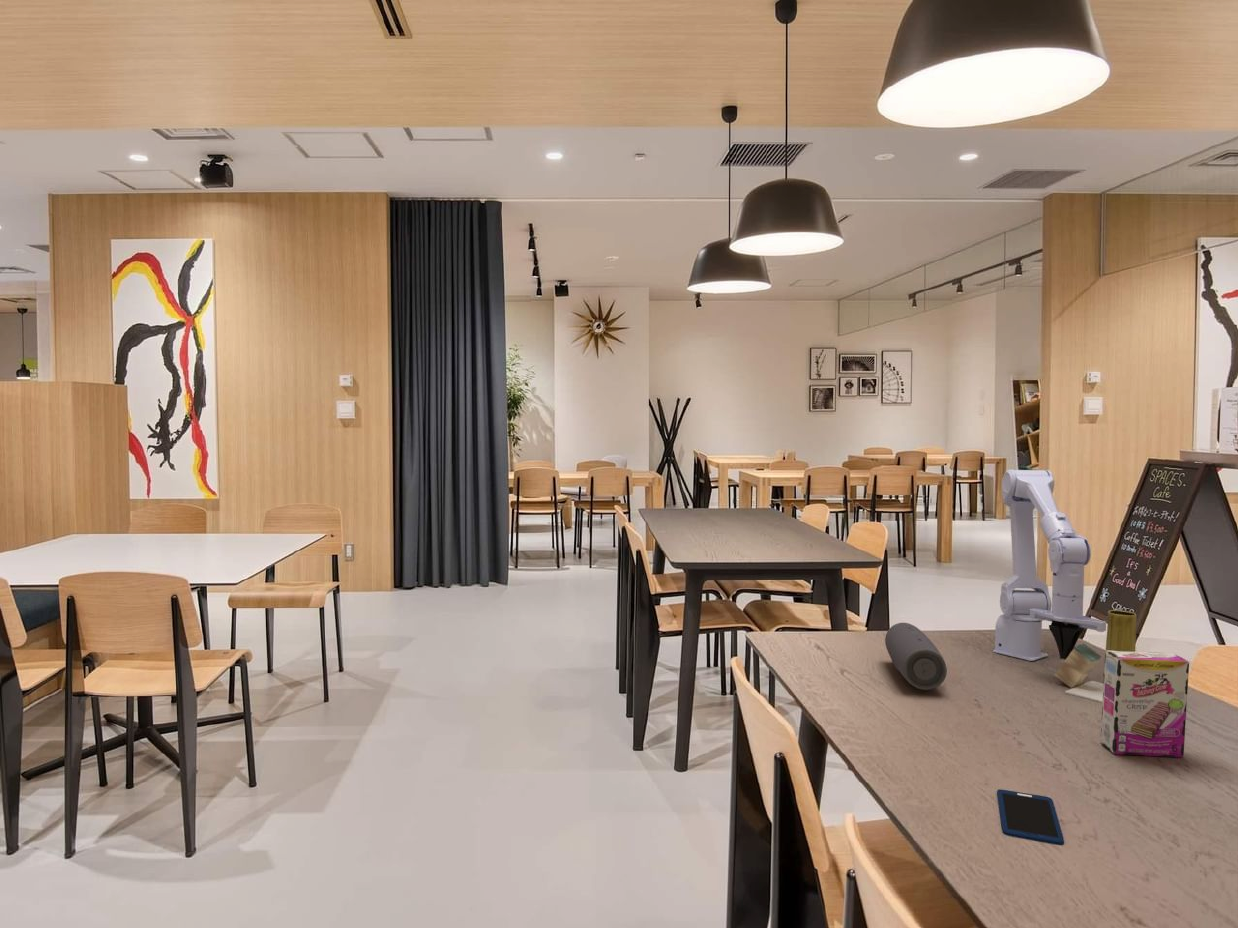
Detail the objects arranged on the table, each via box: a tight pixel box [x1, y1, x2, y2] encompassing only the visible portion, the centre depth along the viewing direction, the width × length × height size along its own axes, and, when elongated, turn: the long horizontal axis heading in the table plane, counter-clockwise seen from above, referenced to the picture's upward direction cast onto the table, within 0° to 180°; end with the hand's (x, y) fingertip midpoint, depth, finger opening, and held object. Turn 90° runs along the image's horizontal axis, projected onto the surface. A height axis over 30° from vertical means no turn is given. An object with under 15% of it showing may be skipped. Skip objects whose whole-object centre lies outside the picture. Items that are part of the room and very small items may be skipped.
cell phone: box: [996, 789, 1065, 846], centre depth 111 cm, size 7×14×1 cm, turn 158°
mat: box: [1064, 680, 1104, 704], centre depth 163 cm, size 9×12×1 cm
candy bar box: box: [1100, 650, 1190, 758], centre depth 133 cm, size 11×5×16 cm, turn 84°
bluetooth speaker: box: [884, 622, 948, 691], centre depth 171 cm, size 23×9×10 cm, turn 171°
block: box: [1054, 643, 1102, 689], centre depth 166 cm, size 4×4×8 cm
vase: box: [1102, 609, 1137, 676], centre depth 172 cm, size 6×6×14 cm
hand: (1065, 658), depth 168 cm, fingers closed
